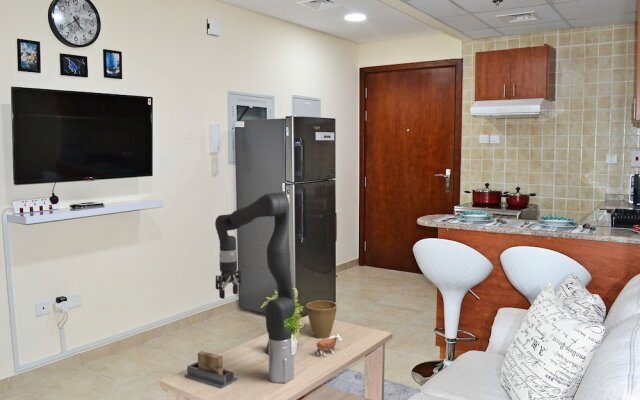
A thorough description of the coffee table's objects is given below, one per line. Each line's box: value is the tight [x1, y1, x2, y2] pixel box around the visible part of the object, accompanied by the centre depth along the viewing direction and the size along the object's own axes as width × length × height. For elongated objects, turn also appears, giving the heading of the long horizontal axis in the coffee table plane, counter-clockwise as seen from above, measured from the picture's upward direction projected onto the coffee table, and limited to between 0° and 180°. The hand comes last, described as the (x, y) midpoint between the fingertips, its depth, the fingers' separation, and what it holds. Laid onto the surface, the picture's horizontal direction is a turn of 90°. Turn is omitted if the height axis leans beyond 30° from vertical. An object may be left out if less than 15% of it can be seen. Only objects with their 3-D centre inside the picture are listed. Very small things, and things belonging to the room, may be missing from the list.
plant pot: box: [306, 300, 338, 339], centre depth 274 cm, size 15×15×16 cm
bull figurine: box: [316, 333, 343, 357], centre depth 251 cm, size 4×13×8 cm, turn 125°
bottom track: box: [184, 361, 238, 389], centre depth 225 cm, size 20×9×4 cm, turn 58°
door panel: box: [197, 350, 224, 375], centre depth 225 cm, size 11×2×9 cm, turn 59°
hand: (228, 296), depth 244 cm, fingers open, 8 cm apart
